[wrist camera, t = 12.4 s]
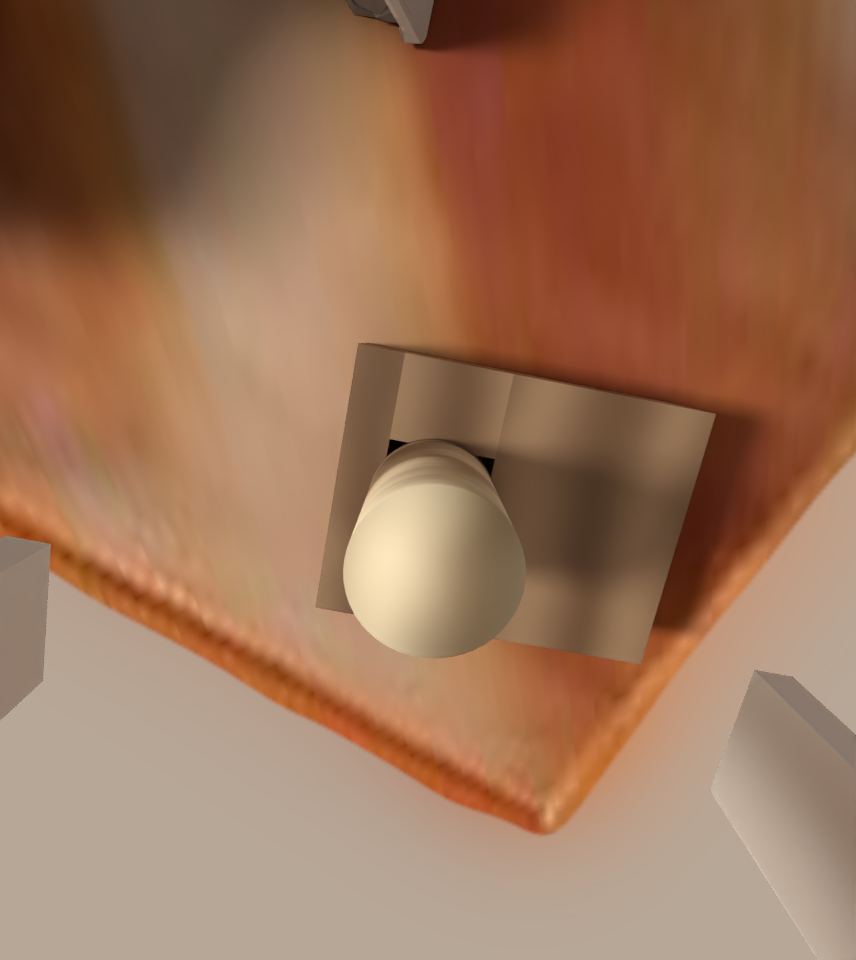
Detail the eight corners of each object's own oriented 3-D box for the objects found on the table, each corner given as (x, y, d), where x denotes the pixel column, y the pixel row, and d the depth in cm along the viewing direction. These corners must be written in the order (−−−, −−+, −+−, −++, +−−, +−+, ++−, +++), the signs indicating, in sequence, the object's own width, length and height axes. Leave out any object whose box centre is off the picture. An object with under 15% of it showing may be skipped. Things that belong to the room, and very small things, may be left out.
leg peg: (366, 523, 36) (328, 643, 22) (385, 415, 34) (358, 468, 20) (473, 542, 36) (505, 673, 22) (496, 437, 35) (546, 504, 20)
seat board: (329, 572, 37) (315, 607, 32) (367, 342, 34) (358, 343, 29) (612, 622, 38) (640, 664, 33) (675, 403, 35) (716, 414, 30)
